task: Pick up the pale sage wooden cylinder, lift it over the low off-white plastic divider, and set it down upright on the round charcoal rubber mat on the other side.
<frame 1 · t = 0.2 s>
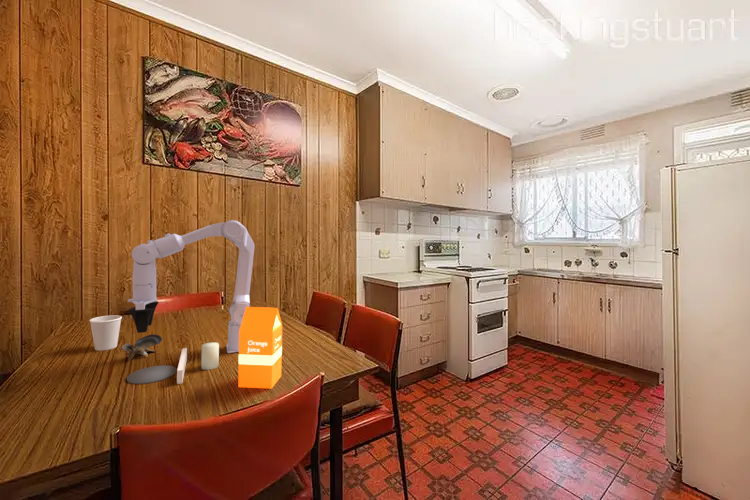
hand: (144, 328, 94), 10 cm above the table, tool pointing down, fingers open, 7 cm apart
orange juice: (260, 382, 84), on the table
dixie cup: (106, 348, 105), on the table
divider wall: (182, 370, 89), on the table
sage cylinder: (210, 366, 92), on the table
rubber mat: (152, 374, 85), on the table
eagle figurine: (142, 357, 98), on the table
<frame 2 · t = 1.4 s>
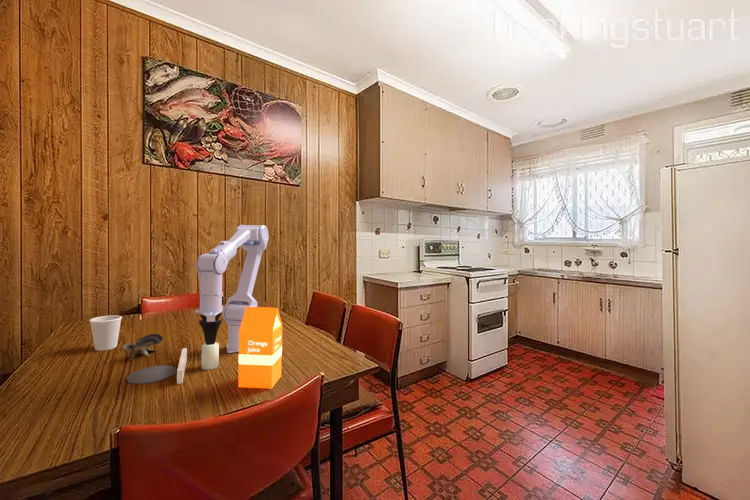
hand: (210, 340, 92), 8 cm above the table, tool pointing down, fingers open, 7 cm apart
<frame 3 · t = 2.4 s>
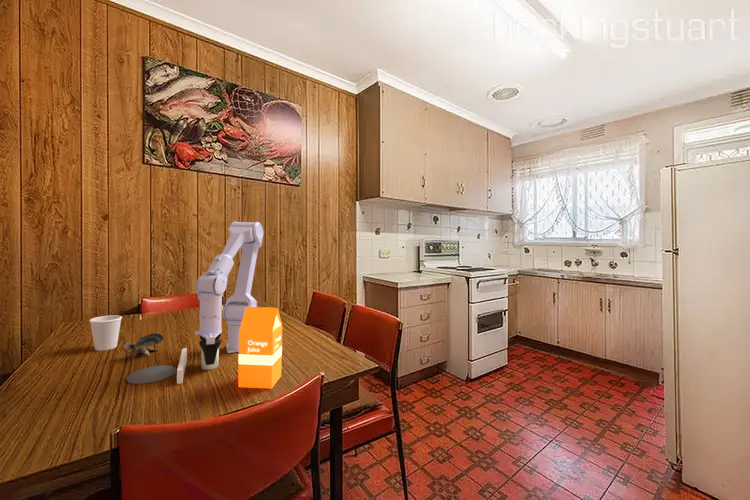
hand: (210, 361, 92), 2 cm above the table, tool pointing down, fingers closed on sage cylinder, 4 cm apart
sage cylinder: (210, 366, 92), on the table, touching gripper
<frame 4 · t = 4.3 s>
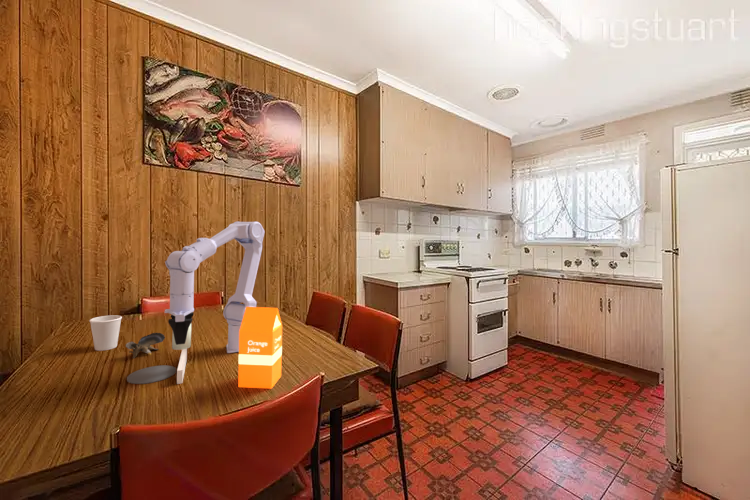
hand: (181, 341, 88), 9 cm above the table, tool pointing down, fingers closed on sage cylinder, 4 cm apart
sage cylinder: (181, 347, 88), point 7 cm above the table, touching gripper
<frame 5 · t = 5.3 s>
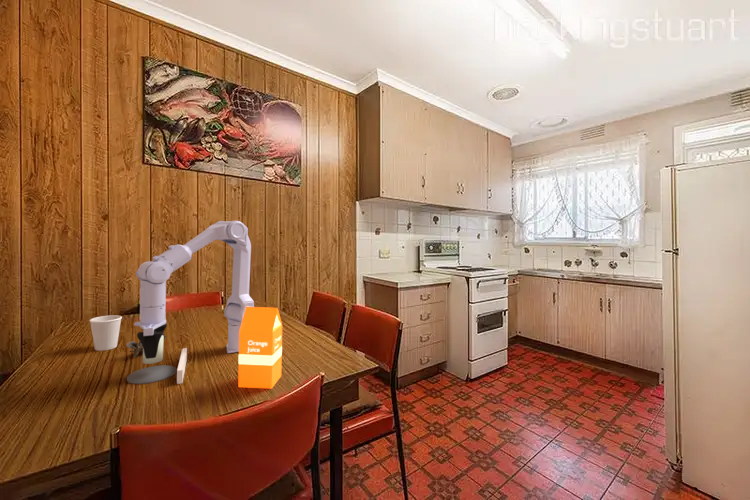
hand: (152, 354, 85), 6 cm above the table, tool pointing down, fingers closed on sage cylinder, 4 cm apart
sage cylinder: (152, 360, 85), point 4 cm above the table, touching gripper
when the fingers open (3 cm above the table, at t = 6.2 s): sage cylinder drops 1 cm, resting on rubber mat.
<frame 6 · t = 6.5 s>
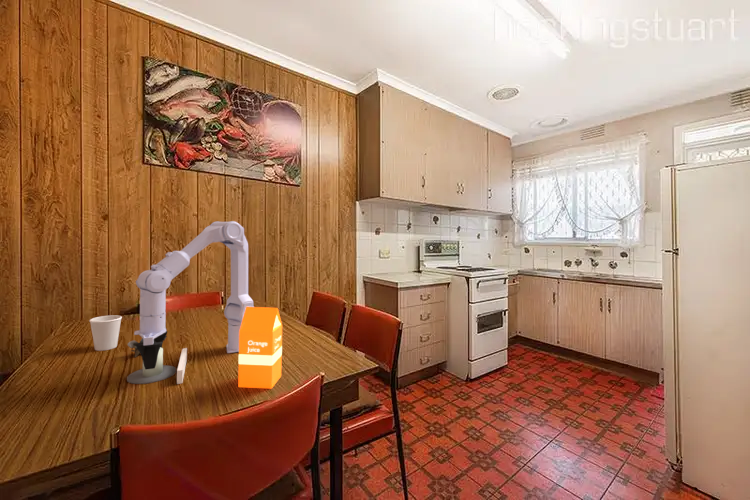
hand: (152, 363, 85), 3 cm above the table, tool pointing down, fingers open, 7 cm apart
sage cylinder: (152, 373, 85), resting on rubber mat
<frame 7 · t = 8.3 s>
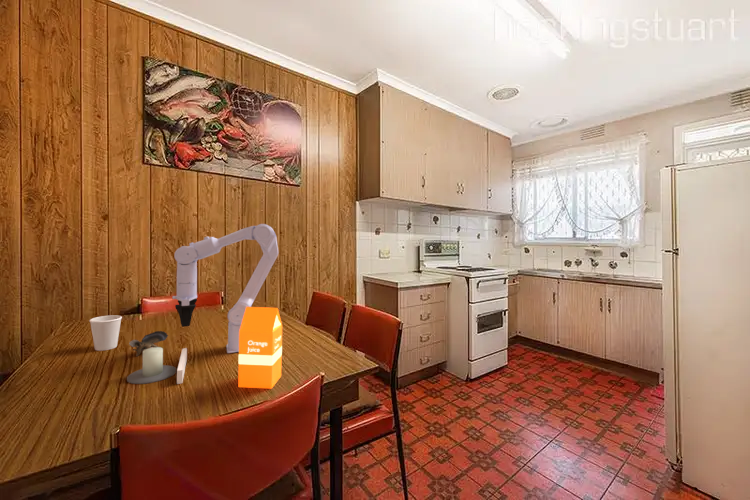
hand: (186, 323, 103), 9 cm above the table, tool pointing down, fingers open, 7 cm apart
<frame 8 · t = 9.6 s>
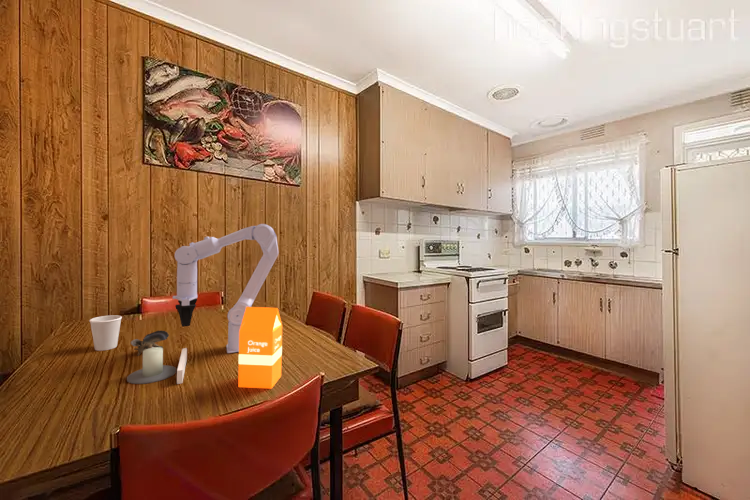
hand: (186, 323, 104), 9 cm above the table, tool pointing down, fingers open, 7 cm apart
at the end: sage cylinder 0.1 cm off-centre on the rubber mat, point 0.4 cm above the rubber mat's base; sage cylinder tilted 0°; the gripper is holding nothing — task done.
